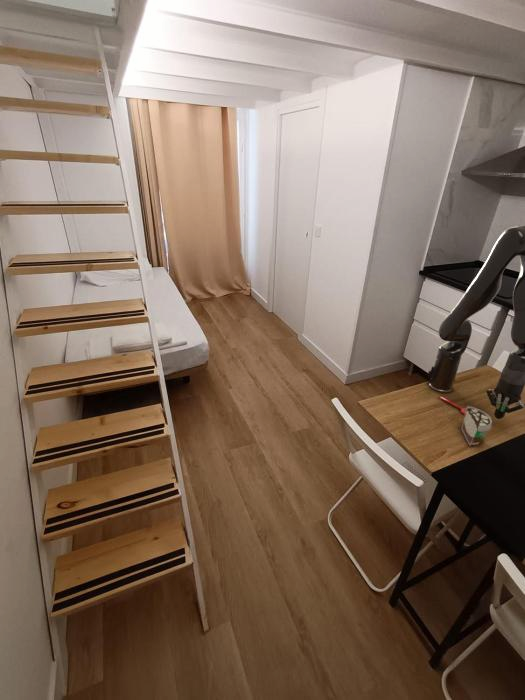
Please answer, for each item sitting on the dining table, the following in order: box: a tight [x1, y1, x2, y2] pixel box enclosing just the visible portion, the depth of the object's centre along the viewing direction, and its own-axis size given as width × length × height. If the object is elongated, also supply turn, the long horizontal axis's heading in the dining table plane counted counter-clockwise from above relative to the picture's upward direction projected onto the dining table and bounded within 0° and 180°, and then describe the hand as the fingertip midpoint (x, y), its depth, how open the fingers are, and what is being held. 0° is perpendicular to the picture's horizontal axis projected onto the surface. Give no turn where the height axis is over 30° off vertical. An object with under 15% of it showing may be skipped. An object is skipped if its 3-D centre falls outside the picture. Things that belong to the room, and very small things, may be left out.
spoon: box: [439, 396, 467, 416], centre depth 139 cm, size 14×4×1 cm, turn 29°
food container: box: [461, 405, 493, 447], centre depth 120 cm, size 12×6×10 cm, turn 168°
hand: (497, 417), depth 125 cm, fingers closed
